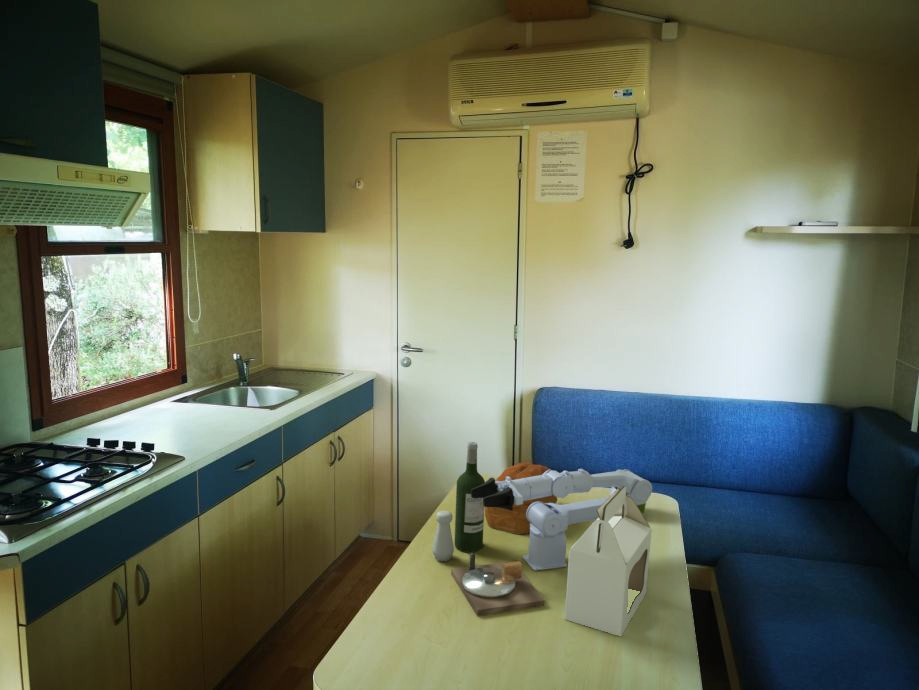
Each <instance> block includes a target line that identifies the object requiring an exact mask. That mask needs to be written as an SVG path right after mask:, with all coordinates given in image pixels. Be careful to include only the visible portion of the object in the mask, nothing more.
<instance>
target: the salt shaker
mask: <svg viewBox="0 0 919 690" xmlns="http://www.w3.org/2000/svg"><path fill="white" fill-rule="evenodd" d="M435 520H436V521H437V524H436V525H437V526H436V531H435V535H434V538H433V539H434V540H433V544H432V554H433V556H434V558H435V560H437V561H438V562H443V561H445V562H448V561H450V560H451V558H452V556H453V554H454V552H455V546H454V541H453V534H452V530H451V529H452V528H451V524H450V523H452V521H453V514H452V512H450V511H449V510H440V511H438V512H437V513H436V517H435ZM447 560H448V561H447Z"/></svg>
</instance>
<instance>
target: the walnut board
mask: <svg viewBox="0 0 919 690" xmlns="http://www.w3.org/2000/svg"><path fill="white" fill-rule="evenodd" d="M469 553H470V554H469V566H464V567H457V568H451V569H450V571H451V572H450V575H451V577H452V578H453V580H454V581H455V583H456V585H457V586H458V588H459V589H460V591H461V593H462V594H463V596H464V597H465V599H466V601H467V602H468V604H469V606H470V607H471V609H472V610H473V612H474V613H475V615H476V617H479V616H480V617H481V616H485V615H492V614H493V615H494V614H500V613H506V612H512V611H520V610H526V609H532V608H541V607H545V602H546V599H544V597H543V596H542V595H541V593H540V592H539V591H538V590H537V589H536V588H535V587H534V585H533V584H532V582H530V580H529V579H528V577H526V576H525V574H524V573H523V572H522V577H521V578H518V579H515V589H514V591H513V592H512V593H510V594H509V595H507V596H504V597H499V598H483V597H479V596H475V595H473V594H471V593H469V592H467V591H466V590H465V589H464V587H463V585H462V579H463V576H464V575H465V574H466V573H467V572H468V571H470V570H473V569H477V568H496V569H500V570H502V563H509V562H514V561H504V562H496V563H487V564H480V565H479V564H478V565H476V552H469Z"/></svg>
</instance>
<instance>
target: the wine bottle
mask: <svg viewBox="0 0 919 690" xmlns="http://www.w3.org/2000/svg"><path fill="white" fill-rule="evenodd" d="M478 447H479V446H478V443H477V442H475V441H469V442H468V443H467V455H466V466H465V467H466V468H465V471H464V472H463V473H462V474H460V475H459V476H458V478H457V480H456V490H455V491H456V494H455V519H454V548H456V549H457V550H458V551H460V552H463V553H476V552H478V551H480V550H481V549H482V548H483V546H484V545H483V544H484V528H485V527H484V525H485V523H484V521H485V507H484V506H483V498H472V497H471V489H473V488H475V487H477V486H480V485H482V484H483V483H485V482H486V481H485V479H484V477H483V476H482V475H481V473H479V472H478Z"/></svg>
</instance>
